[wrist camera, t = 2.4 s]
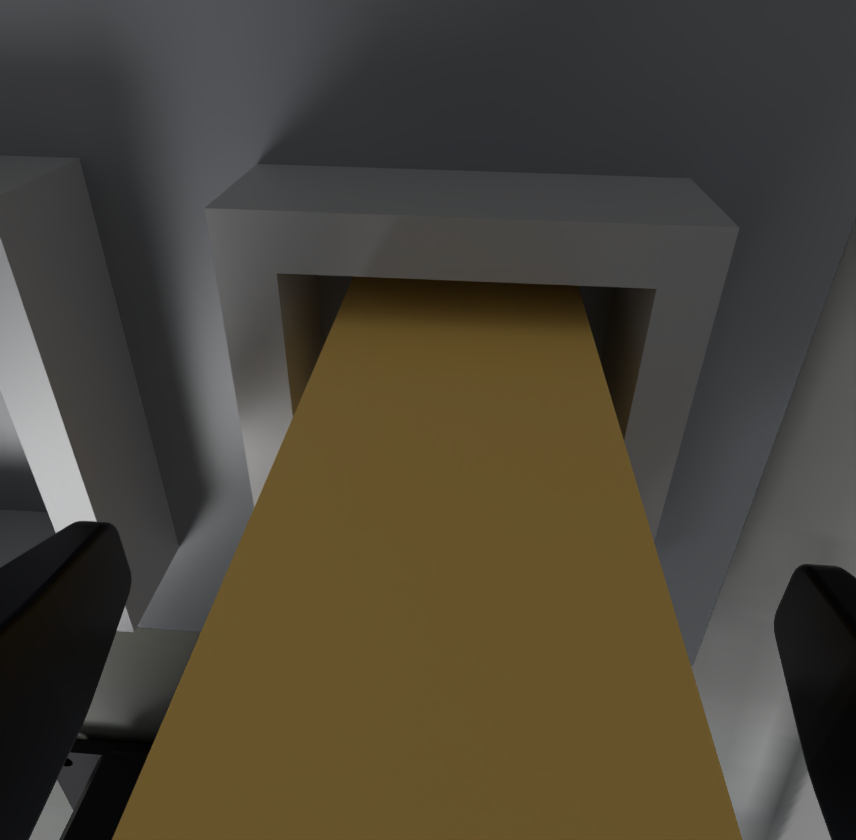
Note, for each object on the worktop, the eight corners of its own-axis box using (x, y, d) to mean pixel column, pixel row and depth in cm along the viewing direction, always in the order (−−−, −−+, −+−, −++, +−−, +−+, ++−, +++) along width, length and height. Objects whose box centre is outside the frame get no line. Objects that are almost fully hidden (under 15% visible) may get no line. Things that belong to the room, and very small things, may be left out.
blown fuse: (573, 271, 9) (881, 1317, 2) (539, 516, 12) (626, 1387, 5) (359, 262, 10) (-49, 1216, 2) (369, 506, 12) (191, 1335, 5)
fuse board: (675, 607, 15) (721, 760, 12) (-103, 558, 16) (-235, 689, 13) (884, -50, 8) (1096, -62, 6) (-468, -73, 9) (-902, -92, 6)
